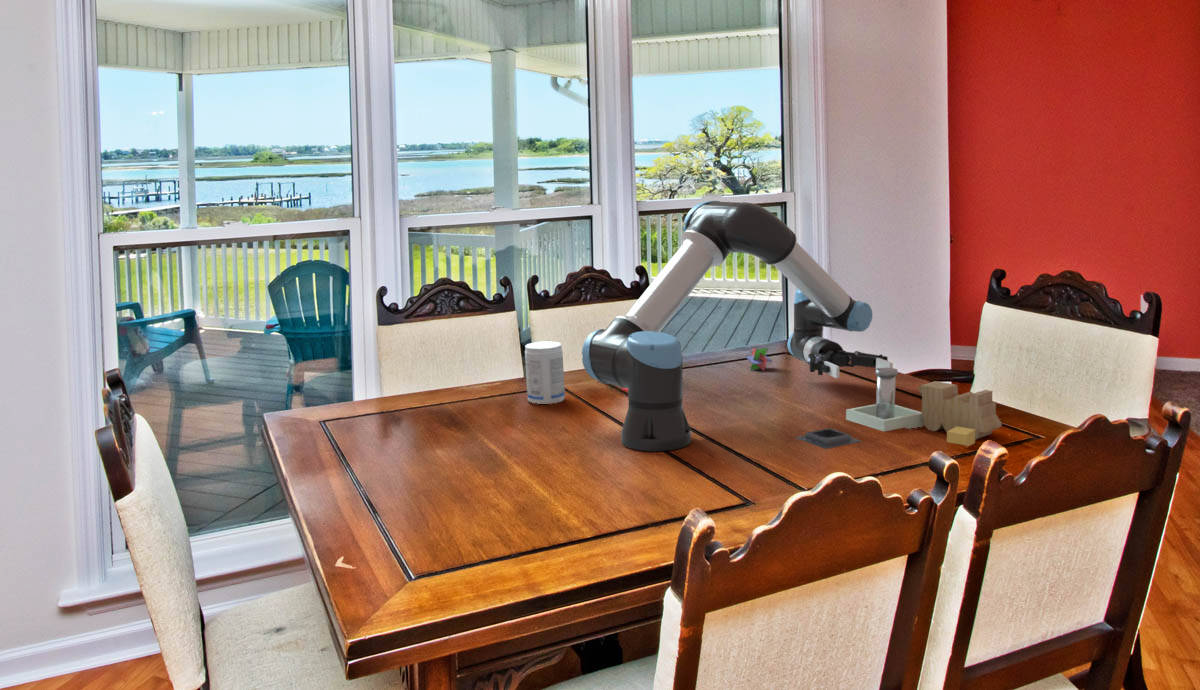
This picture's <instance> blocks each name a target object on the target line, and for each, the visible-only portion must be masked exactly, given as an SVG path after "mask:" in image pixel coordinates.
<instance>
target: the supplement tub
mask: <svg viewBox="0 0 1200 690" xmlns="http://www.w3.org/2000/svg"><path fill="white" fill-rule="evenodd" d="M563 353H564V352H563V347H562V343H561V342H557V341H548V340H547V341H546V340H545V341H535V342H530V343H526V345H525V349H524V359H525V360H524V361H525V362H524V363H525V375H526V376H525V377H526V392H527V400H528V402H529V403H531V402H532V403H531V404H533V403H537V404H536V405H538V404H549V405H551V404H550V403H554V404H558V403H557V402H559V403H561V402H563V401H564V400H565V397H566V394H565V393H566V391H565V376H564V375H565V374H564V372H565V371H564V355H563Z"/></svg>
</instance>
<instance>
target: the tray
mask: <svg viewBox="0 0 1200 690" xmlns="http://www.w3.org/2000/svg"><path fill="white" fill-rule="evenodd" d="M845 411H846V412H845V420H846V421H849V422H853V423H855V424H856V423H857V424H859V425H863V426H865V427H869V428H872V429H875V430H878V431H881V432H889V431H894V430H898V429H903V428H905V429H908V430H912V429H911V428H915V429H917V428H916V427H920V428H923V427H922V426H924V427H925V423H924V419H923V418H922V411H919V410H915V409H913V408H912V409H911V408H908V407H905V406H900V405H898V404H895V411H894V418H889V419H881V418H878V417H876V403H874V404H868V405H864V406H863V405H862V406H859V407H858V406H857V407H853V408H847V409H846V410H845Z"/></svg>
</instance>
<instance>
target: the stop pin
mask: <svg viewBox="0 0 1200 690" xmlns="http://www.w3.org/2000/svg"><path fill="white" fill-rule="evenodd" d="M874 374H875V375H876V398H875V399H876V400H875V401H876V402H875V404H876V417H878V418H881V419H889V418H894V411H895V405H896V404H895V403H896V401H895V400H896V376H898V369H897V368H894V367H893V368H875V370H874Z"/></svg>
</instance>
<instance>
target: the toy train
mask: <svg viewBox="0 0 1200 690" xmlns="http://www.w3.org/2000/svg"><path fill="white" fill-rule="evenodd" d="M917 390H918V392H919V393H920V394H921V412H922V418H923V419H924V427H925V428H926V429H927V430H929V431H930V430H932V431H931V432H937V431H939V430H943V429H944V430H945V432H946V433H947V431H949V430H951V429H953V428H955V427H957V426H958V427H964V428H970V429H975V441H976V440H978V439H981V438H984V437H986V436H989V435H992V433H993V431H994V430H997V429H1000V428H1001V427H1002V426H1003V424H1002V421H1001V420H1000V418H999V416H998V415H997V409H996V408H997V403H996V401H993V391H992V390H989V389H984V390H980V391H977V392H973V391H969V392H965V393H962V394H959V389H958V385H957V384H953V383H947V382H941V381H936V380H935V381H931V382H928V383H923V384H920V385H919V386H918V387H917Z"/></svg>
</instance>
